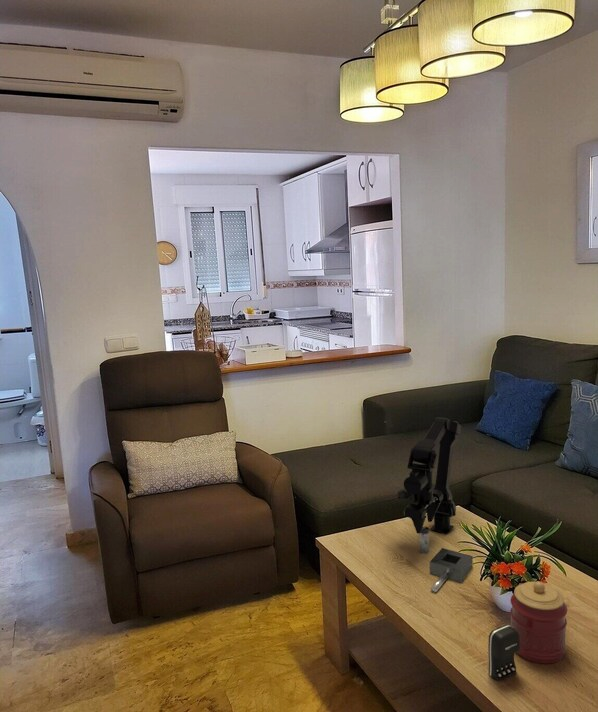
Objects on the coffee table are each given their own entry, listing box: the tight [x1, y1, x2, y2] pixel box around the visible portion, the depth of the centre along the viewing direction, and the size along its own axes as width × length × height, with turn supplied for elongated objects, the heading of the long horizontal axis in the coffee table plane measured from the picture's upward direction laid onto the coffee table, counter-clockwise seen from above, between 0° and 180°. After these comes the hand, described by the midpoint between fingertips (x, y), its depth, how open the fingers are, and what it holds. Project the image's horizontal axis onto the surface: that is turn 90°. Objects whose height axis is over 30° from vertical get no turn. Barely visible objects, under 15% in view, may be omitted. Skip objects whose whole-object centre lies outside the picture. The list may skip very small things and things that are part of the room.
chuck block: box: [429, 547, 474, 594], centre depth 178 cm, size 19×10×4 cm, turn 145°
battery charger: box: [488, 624, 520, 681], centre depth 136 cm, size 7×4×11 cm, turn 116°
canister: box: [510, 580, 568, 664], centre depth 144 cm, size 13×13×18 cm
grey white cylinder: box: [418, 526, 430, 555], centre depth 194 cm, size 3×3×8 cm
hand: (424, 527), depth 193 cm, fingers open, 9 cm apart
